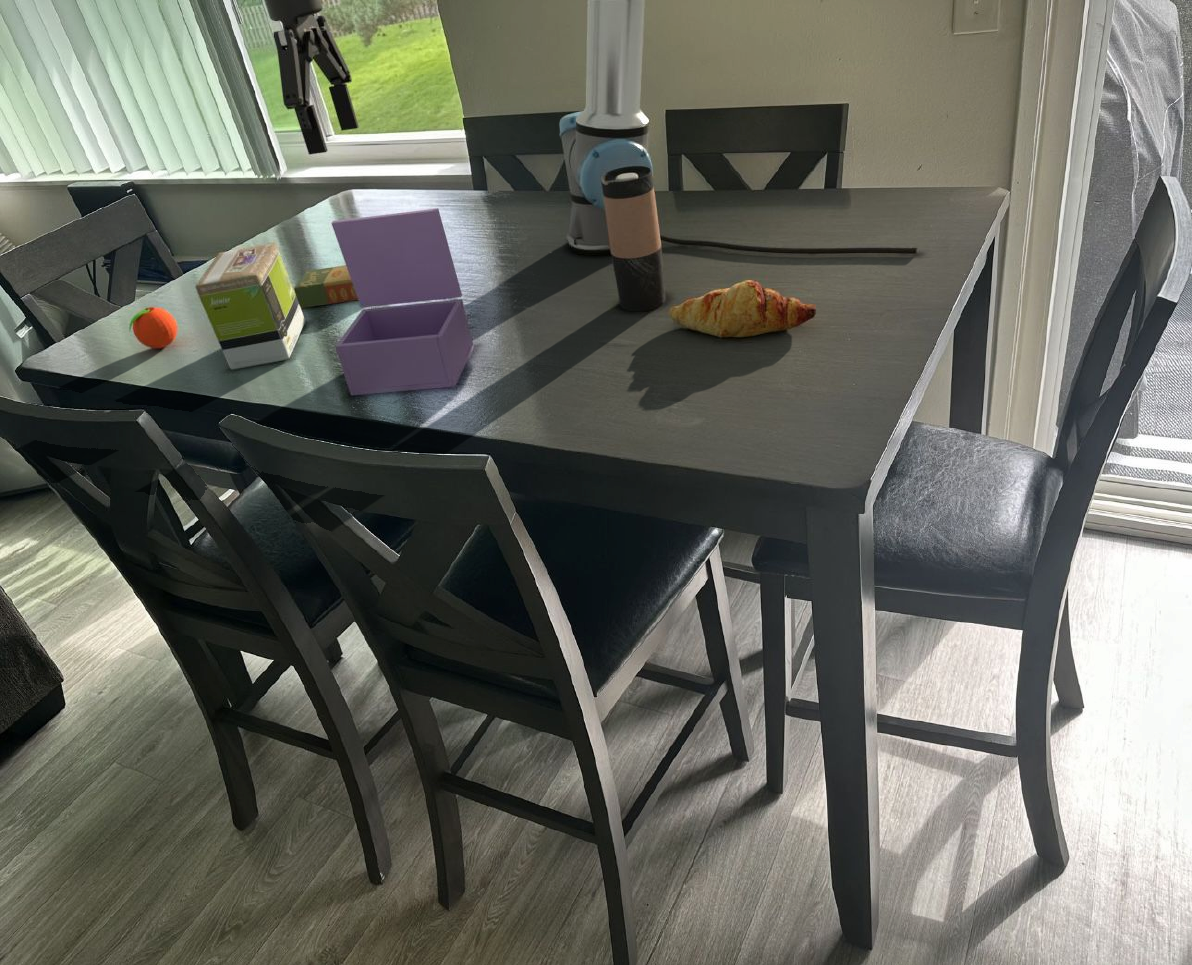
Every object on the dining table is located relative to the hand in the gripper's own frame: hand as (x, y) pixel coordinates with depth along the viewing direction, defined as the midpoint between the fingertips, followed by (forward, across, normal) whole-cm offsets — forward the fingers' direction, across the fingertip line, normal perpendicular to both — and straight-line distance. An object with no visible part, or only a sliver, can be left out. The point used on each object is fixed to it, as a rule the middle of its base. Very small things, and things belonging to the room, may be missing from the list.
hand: (334, 140), depth 142 cm
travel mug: (+29, +5, +44) cm, 53 cm away
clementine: (+29, +6, -40) cm, 49 cm away
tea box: (+29, +9, -18) cm, 35 cm away
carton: (+29, -11, -11) cm, 33 cm away
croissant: (+29, +16, +60) cm, 68 cm away
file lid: (+14, +17, +12) cm, 25 cm away
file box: (+29, +23, +12) cm, 38 cm away
